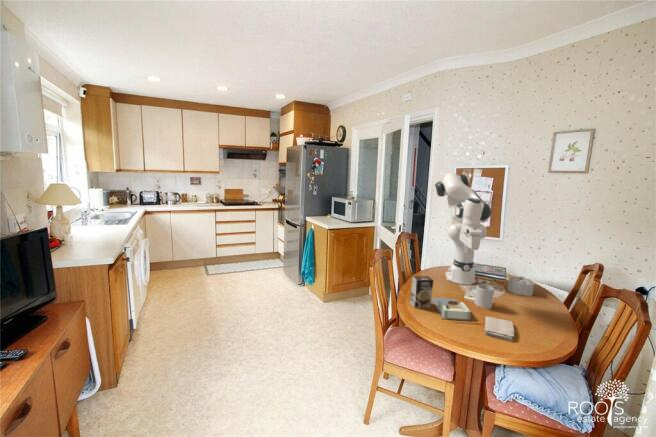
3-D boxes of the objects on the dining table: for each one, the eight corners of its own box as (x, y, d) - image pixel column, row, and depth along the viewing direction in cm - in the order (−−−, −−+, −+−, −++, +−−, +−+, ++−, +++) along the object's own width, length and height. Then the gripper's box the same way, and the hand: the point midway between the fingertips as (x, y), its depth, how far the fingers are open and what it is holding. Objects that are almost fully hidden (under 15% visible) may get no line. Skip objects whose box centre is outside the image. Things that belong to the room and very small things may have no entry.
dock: (430, 298, 177) (431, 290, 176) (455, 300, 176) (456, 292, 175) (442, 319, 153) (443, 310, 152) (471, 321, 152) (472, 312, 151)
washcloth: (484, 336, 140) (485, 329, 140) (484, 319, 156) (484, 313, 156) (514, 343, 135) (515, 337, 135) (511, 325, 151) (512, 319, 151)
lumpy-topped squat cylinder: (532, 297, 185) (534, 283, 184) (507, 292, 191) (509, 278, 190) (531, 291, 194) (533, 278, 193) (507, 286, 200) (509, 273, 199)
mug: (490, 311, 164) (492, 291, 163) (472, 306, 169) (475, 287, 167) (493, 303, 174) (496, 284, 172) (477, 299, 179) (479, 281, 177)
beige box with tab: (445, 310, 161) (446, 300, 160) (457, 311, 161) (458, 301, 160) (449, 316, 154) (450, 306, 153) (462, 317, 154) (463, 307, 153)
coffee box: (414, 309, 163) (417, 280, 160) (409, 304, 169) (412, 275, 166) (430, 309, 164) (433, 280, 161) (425, 303, 170) (428, 275, 168)
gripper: (458, 224, 179) (455, 247, 182) (471, 232, 159) (467, 258, 162) (469, 224, 178) (466, 247, 181) (483, 233, 158) (480, 259, 161)
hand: (467, 253), depth 171 cm, fingers closed
